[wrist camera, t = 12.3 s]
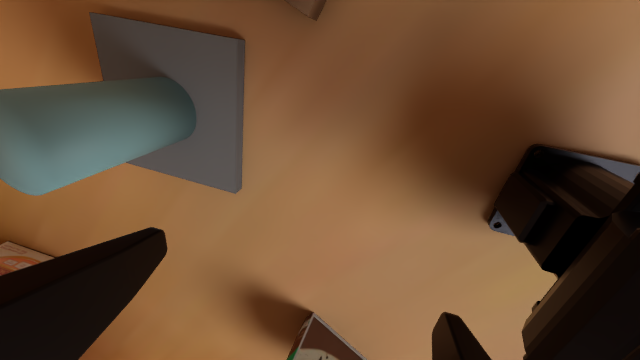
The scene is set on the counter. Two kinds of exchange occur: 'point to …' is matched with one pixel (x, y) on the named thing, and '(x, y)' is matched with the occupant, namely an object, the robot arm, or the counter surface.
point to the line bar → (308, 7)
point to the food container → (321, 343)
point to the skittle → (87, 128)
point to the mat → (199, 82)
